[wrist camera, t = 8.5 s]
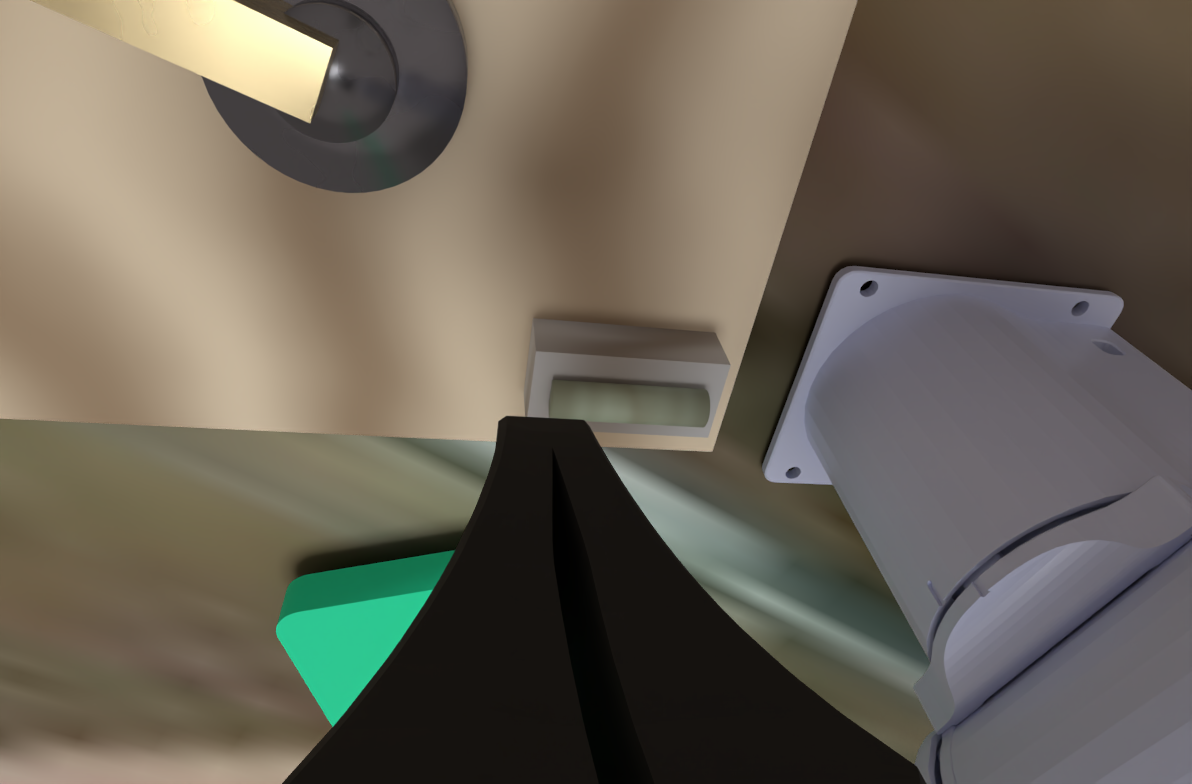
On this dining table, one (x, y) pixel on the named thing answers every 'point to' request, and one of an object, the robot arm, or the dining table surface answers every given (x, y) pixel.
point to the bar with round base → (312, 77)
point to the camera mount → (352, 623)
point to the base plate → (412, 232)
